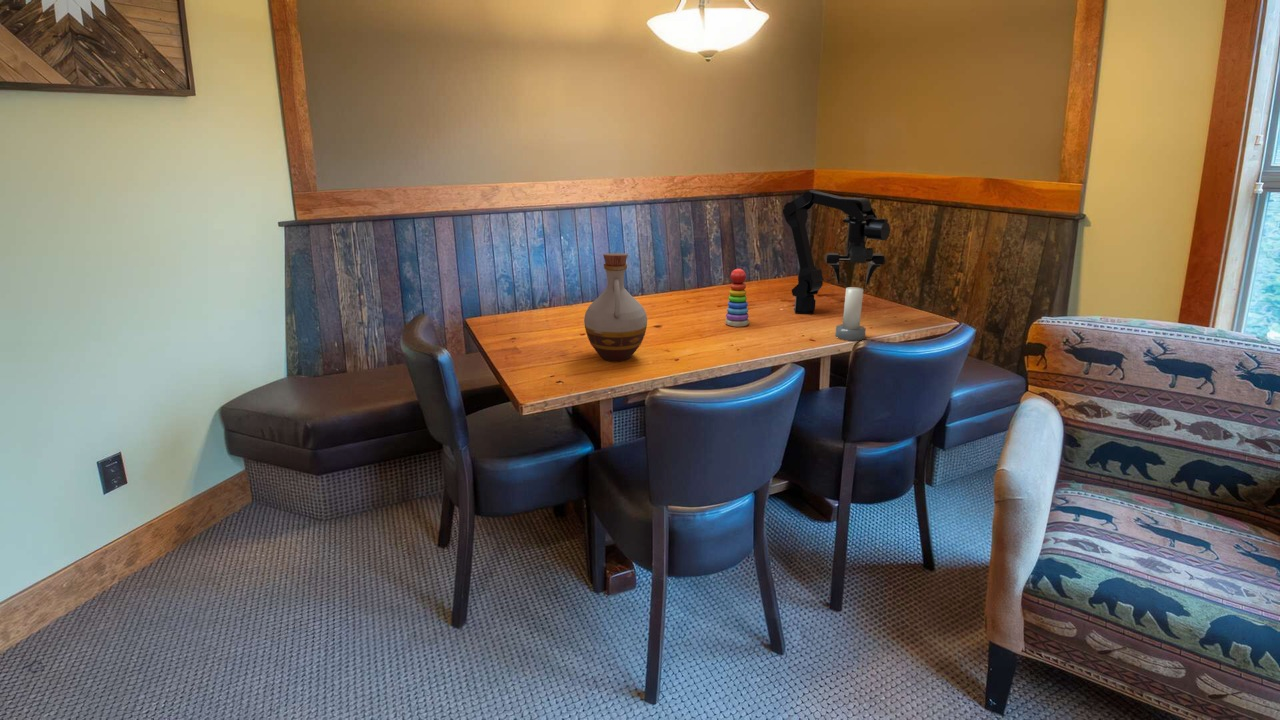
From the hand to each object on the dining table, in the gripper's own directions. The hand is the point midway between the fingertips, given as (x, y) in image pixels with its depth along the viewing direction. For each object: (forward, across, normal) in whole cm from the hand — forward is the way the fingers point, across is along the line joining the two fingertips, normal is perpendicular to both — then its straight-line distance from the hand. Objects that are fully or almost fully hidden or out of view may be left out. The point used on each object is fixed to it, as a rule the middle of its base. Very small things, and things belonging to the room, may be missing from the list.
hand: (852, 284), depth 242 cm
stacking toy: (+13, -38, -8) cm, 41 cm away
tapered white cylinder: (+10, -3, -19) cm, 21 cm away
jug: (+13, -73, -50) cm, 89 cm away
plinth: (+13, -3, -19) cm, 23 cm away
